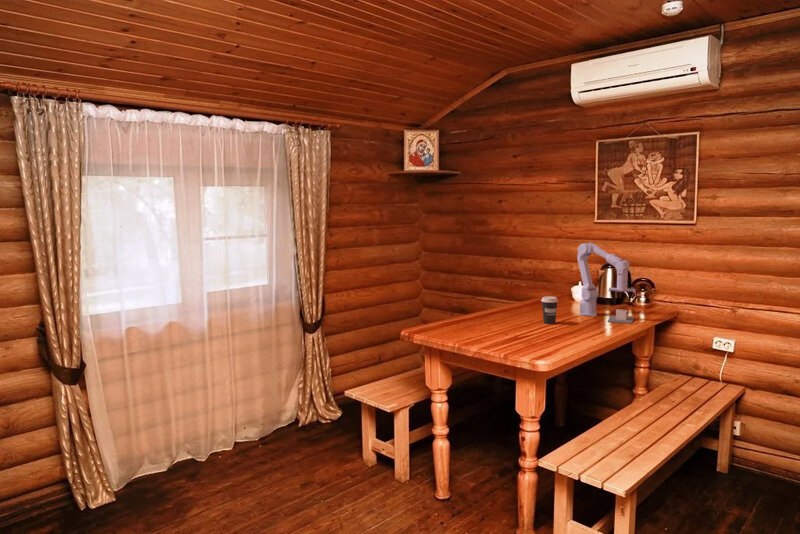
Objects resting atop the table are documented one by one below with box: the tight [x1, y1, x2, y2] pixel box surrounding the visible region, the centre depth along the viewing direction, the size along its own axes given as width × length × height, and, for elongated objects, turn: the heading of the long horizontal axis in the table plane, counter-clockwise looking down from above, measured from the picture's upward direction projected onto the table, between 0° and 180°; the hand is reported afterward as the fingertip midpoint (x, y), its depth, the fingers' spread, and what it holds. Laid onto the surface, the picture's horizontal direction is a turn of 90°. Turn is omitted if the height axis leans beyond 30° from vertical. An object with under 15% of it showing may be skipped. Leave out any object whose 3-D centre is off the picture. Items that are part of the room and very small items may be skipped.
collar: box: [615, 308, 628, 320], centre depth 336 cm, size 6×6×5 cm
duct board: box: [607, 314, 635, 325], centre depth 336 cm, size 13×18×4 cm
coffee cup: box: [540, 295, 559, 325], centre depth 331 cm, size 10×10×15 cm
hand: (621, 304), depth 335 cm, fingers open, 7 cm apart
